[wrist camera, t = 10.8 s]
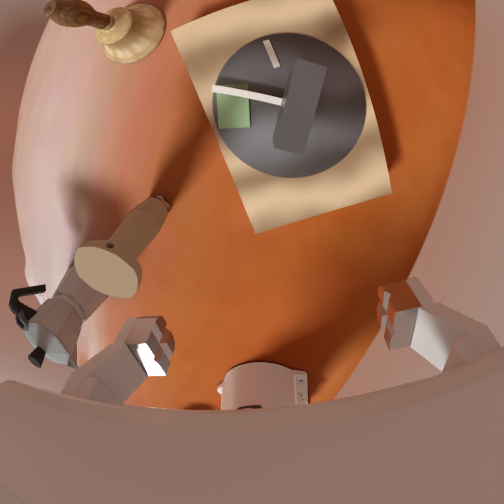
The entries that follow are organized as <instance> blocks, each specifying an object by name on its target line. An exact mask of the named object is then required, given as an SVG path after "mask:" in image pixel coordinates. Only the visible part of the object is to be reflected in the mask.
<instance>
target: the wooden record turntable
mask: <svg viewBox="0 0 504 504" xmlns="http://www.w3.org/2000/svg"><path fill="white" fill-rule="evenodd" d="M171 33H172V36H173V38H174V40H175V43H176V45H177V47H178V50H179V52H180V54H181V57H182V59H183V61H184V64H185V66H186V68H187V71H188V73H189V75H190V78H191V80H192V82H193V85H194V87H195V89H196V92H197V94H198V96H199V99H200V101H201V103H202V106H203V108H204V111H205V113H206V115H207V118H208V120H209V122H210V125H211V127H212V130H213V132H214V134H215V137H216V139H217V141H218V144H219V146H220V149H221V151H222V153H223V156H224V158H225V161H226V163H227V165H228V168H229V170H230V173H231V175H232V178H233V180H234V182H235V185H236V187H237V190H238V192H239V195H240V197H241V199H242V202H243V204H244V207H245V209H246V212H247V214H248V216H249V219H250V221H251V224H252V226H253V229H254V231H255V234H257V233H260V232H263V231H266V230H270V229H273V228H276V227H279V226H283V225H286V224H289V223H293V222H296V221H299V220H303V219H306V218H309V217H313V216H316V215H319V214H323V213H326V212H329V211H333V210H336V209H339V208H343V207H346V206H350V205H353V204H356V203H360V202H363V201H367V200H370V199H374V198H377V197H381V196H384V195H388V194H391V193H392V192H391V186H390V180H389V174H388V169H387V164H386V159H385V154H384V149H383V145H382V141H381V136H380V132H379V128H378V124H377V120H376V116H375V113H374V109H373V106H372V102H371V99H370V95H369V92H368V89H367V86H366V82H365V79H364V76H363V73H362V70H361V67H360V65H359V62H358V59H357V56H356V54H355V51H354V48H353V46H352V43H351V41H350V38H349V36H348V33H347V31H346V28H345V26H344V24H343V22H342V19H341V17H340V15H339V13H338V10H337V8H336V6H335V4H334V2H333V0H249V1H246V2H243V3H240V4H237V5H234V6H231V7H228V8H225V9H222V10H219V11H217V12H214V13H211V14H209V15H206V16H204V17H201V18H199V19H196V20H194V21H192V22H189V23H187V24H185V25H183V26H180V27H178V28H176V29H174V30H172V31H171ZM296 59H301V60H305V61H308V62H312V63H315V64H318V65H322V66H325V67H327V71H326V74H325V78H324V82H323V86H322V90H321V93H320V97H319V101H318V104H317V108H316V112H315V115H314V119H313V123H312V126H311V130H310V133H309V137H308V141H307V144H306V148H305V151H304V155H299V154H296V153H292V152H288V151H284V150H280V149H276V148H274V146H273V140H272V137H273V134H274V130H275V126H276V122H277V118H278V114H279V110H280V105H276V104H272V103H268V102H263V101H259V100H254V99H249V98H244V97H239V96H233V95H228V94H222V93H216V92H211V91H212V86H213V85H217V86H223V87H229V88H235V89H240V90H246V91H251V92H256V93H260V94H265V95H269V96H273V97H278V98H283V94H284V90H285V86H286V83H287V79H288V75H289V71H290V67H291V65H292V64H293V63H294V62H295V60H296Z"/></svg>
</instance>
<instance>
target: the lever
mask: <svg viewBox="0 0 504 504" xmlns="http://www.w3.org/2000/svg"><path fill="white" fill-rule="evenodd" d="M326 71H327V67H325V66H322V65H318V64H315V63H312V62H308V61H305V60H301V59H296V60H295V62H294V63H293V64H292V65H291V67H290V71H289V75H288V79H287V83H286V86H285V90H284V94H283V98H278V97H273V96H269V95H265V94H260V93H256V92H251V91H246V90H240V89H235V88H229V87H223V86H217V85H213V86H212V91H211V92H216V93H222V94H228V95H233V96H239V97H244V98H249V99H254V100H259V101H263V102H268V103H272V104H276V105H280V110H279V114H278V118H277V122H276V126H275V130H274V134H273V137H272V140H273V146H274V148H276V149H280V150H284V151H288V152H292V153H296V154H299V155H304V151H305V148H306V144H307V141H308V137H309V133H310V130H311V126H312V123H313V119H314V115H315V112H316V108H317V104H318V101H319V97H320V93H321V90H322V86H323V82H324V78H325V74H326Z"/></svg>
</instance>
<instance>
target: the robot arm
mask: <svg viewBox="0 0 504 504" xmlns="http://www.w3.org/2000/svg"><path fill="white" fill-rule="evenodd" d="M378 297H379V299H380V301H379V303H378V304H377V319H378V323H379V326H380V328H381V329H382V330H383V331H385V334H384V338H385V341H386V343H387V346H388V348H389V350H393V349H398V348H402V347H407V346H411V348H413V349H414V350H415V351H417V352H418V353H419V354H420V355H422V356H423V357H425V358H426V359H427V360H428V361H429V362H431V363H432V364H433V365H434V366H436V367H437V368H438V369H440V370H441V371H442V373H439V374H436V375H433V376H430V377H426V378H423V379H420V380H417V381H414V382H410V383H406V384H403V385H399V386H395V387H392V388H388V389H384V390H379V391H375V392H371V393H366V394H362V395H357V396H352V397H347V398H341V399H335V400H329V401H323V402H317V403H309V404H308V383H307V373H306V372H304V371H299V370H292V369H289V368H286V367H284V366H281V365H278V364H274V363H266V362H254V363H247V364H242V365H239V366H237V367H234V368H233V369H231V370H230V371H229V372H228V373H227V374H226V376H225V378H224V381H223V382H222V383H220V384H219V385H218V386H217V391H218V393H220V394H221V395H222V400H221V410H183V409H164V408H151V407H140V406H131V405H122V404H123V403H124V402H125V401H126V400H127V398H128V397H129V396H130V395H131V394H132V393H133V392H134V391H135V390H136V389H137V388H138V387H139V386H140V384H141V383H142V382H143V381H144V380H145V379H146V378H147V377H148V376H147V375H166V374H167V371H168V368H169V365H170V361H169V359H168V358H169V357H170V356H172V355H173V352H174V349H175V341H174V337H173V335H172V333H171V331H169V330H168V329H166V324H167V323H166V321H165V319H164V318H163V317H162V316H148V317H131V318H128V319H127V320H126V322H125V323H124V325H123V327H122V329H121V331H120V332H119V334H118V336H117V338H116V340H115V342H114V343H113V344H110V345H109V346H107V347H106V348H105V349H103V350H102V351H101V352H99V353H98V354H97V355H95V356H94V357H93V358H91V359H90V360H89V361H87V362H86V363H85V364H83V365H82V366H81V367H79V368H78V369H77V370H75V371H74V372H73V373H71V375H70V377H69V378H68V380H67V382H66V384H65V386H64V388H63V390H62V391H61V393H56V392H52V391H48V390H43V389H40V388H36V387H33V386H29V385H26V384H22V383H20V382H17V381H14V380H6V381H4V382H3V383H1V384H0V504H504V347H503V348H501V346H500V344H499V343H498V341H497V340H496V338H495V337H494V335H493V334H492V332H491V331H490V330H489V328H488V326H486V325H484V324H482V323H480V322H478V321H476V320H474V319H472V318H470V317H467V316H466V315H463V314H462V313H460V312H457V311H455V310H453V309H451V308H449V307H447V306H445V305H443V304H441V303H434V301H433V299H432V298H431V296H430V295H429V293H428V292H427V291H426V289H425V288H424V286H423V285H422V284H421V282H420V281H419V279H417V278H416V277H415V278H411V279H406V280H404V281H399V282H395V283H390V284H385V285H380V286H379V288H378Z"/></svg>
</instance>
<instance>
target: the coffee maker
mask: <svg viewBox="0 0 504 504" xmlns="http://www.w3.org/2000/svg"><path fill="white" fill-rule="evenodd" d="M45 291H46V285H45V284H44V285H38V286H32V287H26V288H20V289H14V290H12V292H11V297H10V301H9V306H10V309H11V311H12V312H13V313H14V314H15V315H16V322H17V325H18V326H19V327H20V328H21V329H22V330H24V335H25V336H26V337H27V339H28V340H29V342H30V343H31V344H32V345H33V347H34V348H35V350H34V351H33V352H32V353H31V354H30V355H29V356H28V359H29V360H30V361H31V363H32V364H34V365H35V366H36V367H39V368H40V367H41V365H42V363H43V360H44V357H46V358H48V359H49V360H51V361H52V362H54V363H60V364H65V365H67V366H70V367H72V368H75V369H78V366H77V340H78V337H79V334H80V331H81V326H82V323H83V322H84V321H86V320H87V319H88V318H89V317H90V316H91V314H92V313H93V312H94V311H95V310H96V309H97V308H98V307H99V306H100V305H101V304H102V303H103V302H104V301H105V300H106V299H107V297H108V296H107V295H106V294H103V293H101V292H99V291H97V290H95V289H93V288H92V287H90V286H89V285H88V284H87V283H86V282H85V281H83V280H82V279H81V278H80V277H79V276H78V274H77V272H76V269H75V264H74V265H73V266H72V267H70V268H69V269H68V270H67V272H66V274H65V275H64V277H63V279H62V281H61V282H60V284H59V286H58V288H57V290H56V292H55V293H54V295H53V297H52V298H53V299H47V300H46V301H45V302H44V303H43V304H42V305H41V306H40V307H39V308H38V309H37V310H36V311H35V310H33V309H32V308H30V307H28V306H26V305H24V304H23V303H21V302H20V301H19V300H18V297H21V296H27V295H33V294H39V293H44V292H45ZM20 320H21V321H22V322H23V323H24V324H23V323H22V322H21V321H20Z"/></svg>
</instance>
